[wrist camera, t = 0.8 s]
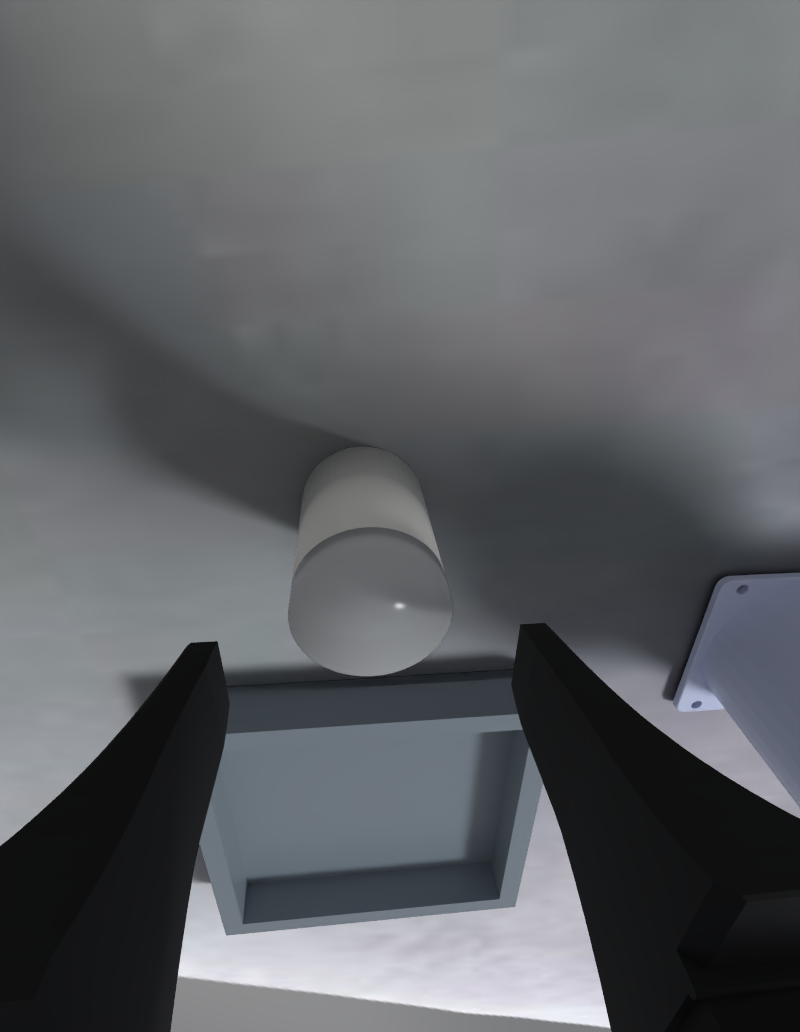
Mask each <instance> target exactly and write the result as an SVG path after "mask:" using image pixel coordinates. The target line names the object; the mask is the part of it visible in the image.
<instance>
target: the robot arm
mask: <svg viewBox="0 0 800 1032" xmlns="http://www.w3.org/2000/svg"><path fill="white" fill-rule="evenodd" d="M740 586H741V587H740ZM738 587H739V588H738ZM511 687H512V691H513V695H514V699H515V703H516V708H517V711H518V715H519V719H520V723H521V726H522V729H523V731H524V734H525V737H526V739H527V742H528V745H529V747H530V750H531V752H532V755H533V758H534V760H535V763H536V765H537V768H538V771H539V773H540V776H541V778H542V781H543V783H544V786H545V789H546V791H547V794H548V796H549V799H550V802H551V804H552V807H553V809H554V812H555V815H556V818H557V821H558V823H559V826H560V829H561V832H562V836H563V839H564V843H565V846H566V850H567V853H568V857H569V860H570V864H571V868H572V871H573V875H574V878H575V882H576V886H577V890H578V893H579V897H580V901H581V905H582V909H583V912H584V916H585V920H586V924H587V928H588V932H589V936H590V940H591V944H592V949H593V953H594V957H595V961H596V965H597V969H598V973H599V977H600V982H601V986H602V991H603V995H604V1000H605V1004H606V1009H607V1013H608V1018H609V1022H610V1027H611V1031H612V1032H800V819H799V818H797V817H795V816H793V815H791V814H789V813H788V812H786V811H784V810H782V809H780V808H779V807H777V806H775V805H773V804H771V803H770V802H768V801H766V800H764V799H763V798H761V797H759V796H757V795H756V794H754V793H752V792H750V791H749V790H747V789H745V788H744V787H742V786H741V785H739V784H737V783H736V782H734V781H732V780H731V779H729V778H727V777H726V776H724V775H723V774H721V773H720V772H718V771H717V770H715V769H714V768H712V767H711V766H709V765H708V764H706V763H705V762H703V761H702V760H700V759H698V758H697V757H696V756H694V755H693V754H691V753H690V752H688V751H687V750H686V749H684V748H683V747H681V746H680V745H679V744H677V743H676V742H675V741H673V740H672V739H671V738H669V737H668V736H667V735H665V734H664V733H663V732H661V731H660V730H659V729H657V728H656V727H655V726H654V725H652V724H651V723H650V722H649V721H647V720H646V719H645V718H644V717H642V716H641V715H640V714H639V713H638V712H637V711H635V710H634V709H633V708H632V707H631V706H630V705H628V704H627V703H626V702H625V701H624V700H623V699H621V698H620V697H619V696H618V695H617V694H616V693H615V692H614V691H613V690H612V689H611V688H610V687H608V686H607V685H606V684H605V683H604V682H603V681H602V680H601V679H600V678H599V677H598V676H597V675H596V674H595V673H594V672H593V671H592V670H591V669H590V668H589V667H588V666H587V665H586V664H585V663H584V662H583V661H582V660H581V659H580V658H579V657H578V656H577V655H576V654H575V653H574V652H573V651H572V650H571V649H570V648H569V647H568V646H567V645H566V644H565V643H564V642H563V641H562V640H561V639H560V638H559V637H558V636H557V635H556V634H555V633H554V632H553V631H552V630H551V629H550V628H549V627H548V626H547V625H546V624H545V623H537V624H521V625H520V631H519V638H518V644H517V650H516V657H515V663H514V669H513V676H512V682H511ZM673 704H674V706H675V707H676V709H677V710H678V711H681V712H689V711H704V710H718V709H726V711H727V712H728V713H729V715H730V716H731V717H732V719H733V720H734V721H735V723H736V724H737V725H738V727H739V728H740V729H741V731H742V732H743V733H744V735H745V736H746V737H747V739H748V740H749V741H750V743H751V744H752V745H753V747H754V748H755V749H756V751H757V752H758V753H759V755H760V756H761V757H762V759H763V760H764V761H765V762H766V764H767V765H768V766H769V768H770V769H771V770H772V772H773V773H774V774H775V776H776V777H777V778H778V780H779V781H780V782H781V784H782V785H783V786H784V788H785V789H786V790H787V792H788V793H789V794H790V796H791V797H792V798H793V800H794V801H795V802H796V804H797V805H798V806H799V808H800V573H780V574H759V575H738V576H727V577H724V578H722V579H720V580H719V581H718V582H717V584H716V586H715V588H714V591H713V594H712V597H711V599H710V602H709V605H708V608H707V610H706V613H705V616H704V618H703V621H702V624H701V627H700V629H699V632H698V635H697V637H696V640H695V643H694V646H693V648H692V651H691V654H690V657H689V659H688V662H687V665H686V667H685V670H684V673H683V676H682V678H681V681H680V684H679V686H678V689H677V692H676V695H675V697H674V700H673ZM229 707H230V701H229V696H228V691H227V686H226V681H225V676H224V671H223V667H222V662H221V657H220V652H219V647H218V642H217V641H215V642H197V643H190V644H189V645H188V646H187V647H186V648H185V649H184V651H183V652H182V654H181V655H180V656H179V658H178V659H177V660H176V662H175V663H174V665H173V666H172V667H171V669H170V670H169V671H168V673H167V674H166V675H165V677H164V678H163V679H162V681H161V682H160V683H159V685H158V686H157V687H156V688H155V690H154V691H153V692H152V694H151V695H150V696H149V697H148V698H147V700H146V701H145V702H144V703H143V705H142V706H141V707H140V708H139V710H138V711H137V712H136V713H135V715H134V716H133V717H132V718H131V719H130V721H129V722H128V723H127V724H126V725H125V726H124V728H123V729H122V730H121V731H120V732H119V733H118V734H117V735H116V737H115V738H114V739H113V740H112V741H111V742H110V743H109V744H108V746H107V747H106V748H105V749H104V750H103V751H102V752H101V753H100V754H99V756H98V757H97V758H96V759H95V760H94V761H93V762H92V763H91V764H90V765H89V766H88V767H87V768H86V769H85V770H84V771H83V772H82V773H81V774H80V775H79V776H78V777H77V778H76V779H75V780H74V781H73V782H72V783H71V784H70V785H69V786H68V787H67V788H66V789H65V790H64V791H63V792H62V793H61V794H60V795H59V796H57V797H56V798H55V799H54V800H53V801H52V802H51V803H50V804H49V805H48V806H46V807H45V808H44V809H43V810H42V811H41V812H40V813H39V814H38V815H37V816H35V817H34V818H33V819H32V820H31V821H30V822H29V823H27V824H26V825H25V826H24V827H23V828H22V829H21V830H19V831H18V832H17V833H16V834H15V835H14V836H12V837H11V838H10V839H9V840H7V841H6V842H5V843H4V844H2V845H1V846H0V1032H170V1030H171V1022H172V1014H173V1007H174V998H175V991H176V984H177V976H178V969H179V962H180V955H181V948H182V941H183V935H184V928H185V921H186V914H187V908H188V902H189V896H190V890H191V883H192V877H193V871H194V865H195V861H196V856H197V851H198V847H199V842H200V838H201V835H202V831H203V827H204V823H205V819H206V815H207V811H208V808H209V804H210V800H211V796H212V792H213V788H214V785H215V781H216V777H217V773H218V769H219V765H220V761H221V757H222V753H223V749H224V744H225V737H226V730H227V723H228V715H229Z"/></svg>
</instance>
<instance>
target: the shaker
mask: <svg viewBox="0 0 800 1032" xmlns="http://www.w3.org/2000/svg"><path fill="white" fill-rule="evenodd" d="M452 613H453V604H452V598H451V594H450V590H449V586H448V583H447V579H446V576H445V572H444V569H443V565H442V561H441V558H440V554H439V551H438V547H437V544H436V540H435V536H434V533H433V529H432V526H431V522H430V519H429V515H428V511H427V508H426V504H425V501H424V497H423V494H422V490H421V486H420V484H419V481H418V478H417V477H416V475H415V473H414V471H413V470H412V469H411V467H410V466H409V465H408V464H407V463H406V462H405V461H403V460H402V459H401V458H400V457H398V456H396V455H395V454H393V453H391V452H388V451H386V450H383V449H379V448H374V447H352V448H347V449H344V450H341V451H338V452H336V453H334V454H332V455H330V456H328V457H327V458H325V459H324V460H323V461H321V462H320V463H319V464H318V465H317V466H316V467H315V468H314V470H313V471H312V472H311V474H310V475H309V477H308V479H307V481H306V484H305V487H304V491H303V498H302V506H301V514H300V522H299V530H298V538H297V546H296V554H295V562H294V570H293V578H292V586H291V594H290V602H289V610H288V621H289V626H290V630H291V633H292V636H293V638H294V640H295V641H296V643H297V645H298V646H299V647H300V648H301V650H302V651H303V652H304V653H305V654H306V655H307V656H308V657H309V658H311V659H312V660H313V661H315V662H316V663H318V664H320V665H322V666H323V667H325V668H328V669H330V670H333V671H335V672H339V673H342V674H347V675H353V676H378V675H385V674H390V673H394V672H397V671H401V670H403V669H406V668H408V667H410V666H412V665H414V664H416V663H418V662H420V661H421V660H422V659H424V658H425V657H427V656H428V655H429V654H430V653H431V652H433V651H434V650H435V649H436V647H437V646H438V645H439V644H440V643H441V641H442V640H443V638H444V637H445V635H446V633H447V631H448V629H449V626H450V623H451V620H452Z"/></svg>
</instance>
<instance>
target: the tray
mask: <svg viewBox="0 0 800 1032" xmlns="http://www.w3.org/2000/svg"><path fill="white" fill-rule="evenodd" d="M512 676H513V670H500V671H483V672H467V673H451V674H434V675H418V676H401V677H385V678H369V679H352V680H336V681H319V682H303V683H287V684H270V685H254V686H237V687H227V691H228V696H229V701H230V707H229V715H228V723H227V730H226V737H225V744H224V749H223V753H222V757H221V761H220V765H219V769H218V773H217V777H216V781H215V785H214V788H213V792H212V796H211V800H210V804H209V808H208V811H207V815H206V819H205V823H204V827H203V831H202V835H201V838H200V842H199V844H200V847H201V851H202V854H203V858H204V861H205V864H206V868H207V871H208V875H209V878H210V881H211V885H212V888H213V892H214V895H215V899H216V902H217V905H218V909H219V912H220V916H221V919H222V923H223V926H224V929H225V933H226V935H235V934H246V933H256V932H266V931H276V930H286V929H296V928H306V927H316V926H326V925H336V924H346V923H356V922H366V921H377V920H387V919H397V918H407V917H417V916H427V915H437V914H447V913H457V912H467V911H477V910H487V909H497V908H507V907H515V904H516V900H517V895H518V891H519V886H520V882H521V877H522V873H523V869H524V864H525V860H526V855H527V851H528V846H529V842H530V837H531V833H532V828H533V824H534V819H535V815H536V811H537V806H538V802H539V797H540V793H541V788H542V784H543V781H542V778H541V776H540V773H539V771H538V768H537V765H536V763H535V760H534V758H533V755H532V752H531V750H530V747H529V745H528V742H527V739H526V737H525V734H524V731H523V729H522V726H521V723H520V719H519V715H518V711H517V708H516V703H515V699H514V695H513V691H512V687H511V682H512Z"/></svg>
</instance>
